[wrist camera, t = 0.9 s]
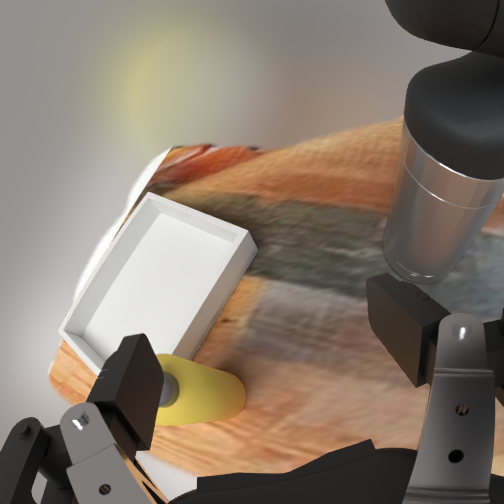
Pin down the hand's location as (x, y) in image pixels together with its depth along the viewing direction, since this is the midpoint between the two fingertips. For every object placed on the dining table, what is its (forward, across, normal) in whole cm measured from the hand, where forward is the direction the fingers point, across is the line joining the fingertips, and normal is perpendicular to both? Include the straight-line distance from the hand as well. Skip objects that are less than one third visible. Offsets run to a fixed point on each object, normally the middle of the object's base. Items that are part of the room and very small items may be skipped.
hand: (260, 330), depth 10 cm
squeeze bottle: (+15, +6, +16) cm, 23 cm away
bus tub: (+24, +12, +8) cm, 29 cm away
